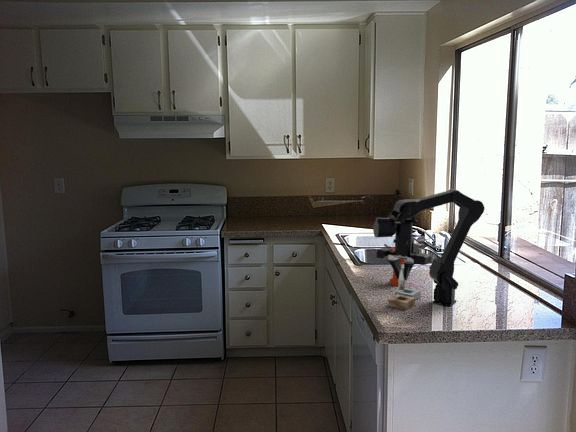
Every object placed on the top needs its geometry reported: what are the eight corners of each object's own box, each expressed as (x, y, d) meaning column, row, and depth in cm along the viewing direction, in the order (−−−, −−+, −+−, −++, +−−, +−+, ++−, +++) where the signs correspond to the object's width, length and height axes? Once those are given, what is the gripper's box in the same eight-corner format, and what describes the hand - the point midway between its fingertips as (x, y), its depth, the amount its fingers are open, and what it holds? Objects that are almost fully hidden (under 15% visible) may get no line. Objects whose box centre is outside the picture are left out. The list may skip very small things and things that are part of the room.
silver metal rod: (406, 289, 183) (407, 267, 182) (403, 290, 181) (404, 268, 180) (400, 287, 184) (400, 266, 183) (397, 289, 183) (397, 267, 181)
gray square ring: (420, 297, 192) (420, 290, 192) (412, 302, 187) (412, 295, 187) (403, 293, 197) (403, 287, 196) (394, 298, 191) (394, 291, 191)
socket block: (415, 304, 184) (415, 297, 184) (406, 309, 179) (406, 302, 178) (397, 300, 189) (397, 294, 188) (388, 305, 183) (388, 299, 183)
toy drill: (388, 270, 225) (390, 237, 221) (405, 288, 207) (409, 253, 203) (377, 271, 224) (379, 238, 220) (394, 288, 206) (397, 253, 202)
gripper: (438, 236, 180) (436, 279, 183) (390, 230, 192) (388, 270, 194) (425, 241, 172) (423, 286, 174) (375, 234, 183) (374, 277, 186)
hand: (402, 279), depth 182 cm, fingers closed on silver metal rod, 2 cm apart
